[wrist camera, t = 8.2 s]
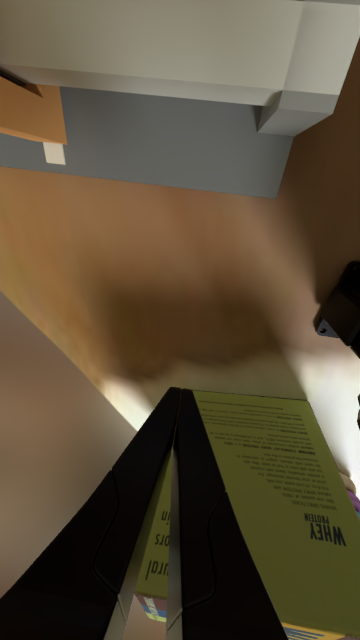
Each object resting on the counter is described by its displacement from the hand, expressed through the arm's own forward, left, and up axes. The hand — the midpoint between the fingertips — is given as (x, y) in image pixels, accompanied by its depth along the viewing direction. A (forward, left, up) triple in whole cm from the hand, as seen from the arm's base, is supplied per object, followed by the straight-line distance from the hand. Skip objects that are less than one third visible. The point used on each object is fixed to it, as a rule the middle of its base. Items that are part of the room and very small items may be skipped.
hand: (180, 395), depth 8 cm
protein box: (-7, +18, -12) cm, 23 cm away
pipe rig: (+6, -11, -12) cm, 17 cm away
